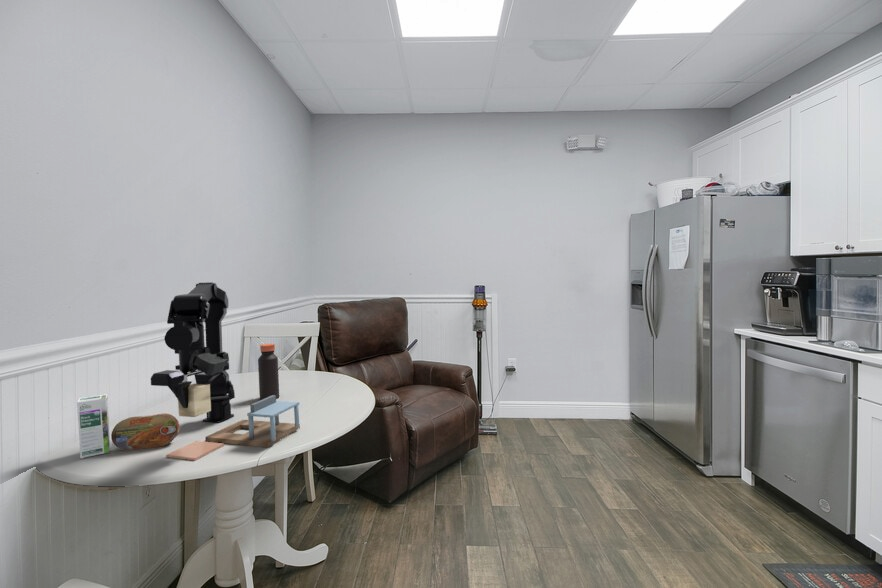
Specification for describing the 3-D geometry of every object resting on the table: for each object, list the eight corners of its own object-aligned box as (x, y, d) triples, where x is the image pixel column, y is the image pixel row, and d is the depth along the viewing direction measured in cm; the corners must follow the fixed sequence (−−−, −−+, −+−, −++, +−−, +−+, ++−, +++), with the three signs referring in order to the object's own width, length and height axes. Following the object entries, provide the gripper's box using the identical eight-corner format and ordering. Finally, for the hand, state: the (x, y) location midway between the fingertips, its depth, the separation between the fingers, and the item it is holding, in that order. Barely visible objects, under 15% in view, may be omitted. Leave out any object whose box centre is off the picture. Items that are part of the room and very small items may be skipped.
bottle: (269, 394, 156) (267, 342, 155) (283, 396, 153) (281, 343, 153) (255, 399, 150) (253, 345, 149) (269, 401, 147) (267, 346, 146)
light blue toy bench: (248, 438, 109) (246, 406, 109) (276, 423, 120) (275, 394, 120) (273, 441, 107) (272, 407, 107) (300, 425, 118) (298, 395, 118)
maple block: (178, 416, 103) (177, 388, 103) (195, 409, 108) (194, 383, 107) (194, 417, 102) (193, 389, 101) (211, 410, 106) (209, 384, 106)
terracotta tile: (166, 457, 102) (166, 454, 102) (196, 443, 110) (196, 440, 110) (195, 460, 99) (195, 458, 99) (223, 445, 108) (223, 443, 108)
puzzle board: (205, 441, 111) (205, 436, 111) (242, 423, 125) (242, 419, 125) (267, 447, 106) (267, 442, 106) (299, 428, 120) (299, 424, 120)
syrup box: (79, 459, 102) (76, 401, 101) (82, 451, 107) (79, 396, 106) (109, 453, 105) (105, 397, 105) (110, 445, 110) (107, 392, 109)
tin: (111, 452, 105) (109, 420, 105) (117, 448, 108) (115, 416, 108) (177, 444, 110) (176, 413, 109) (181, 440, 113) (180, 410, 112)
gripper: (185, 351, 93) (188, 419, 93) (244, 339, 111) (247, 396, 111) (147, 350, 96) (150, 416, 96) (211, 338, 114) (213, 394, 114)
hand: (194, 404), depth 105 cm, fingers closed on maple block, 5 cm apart
